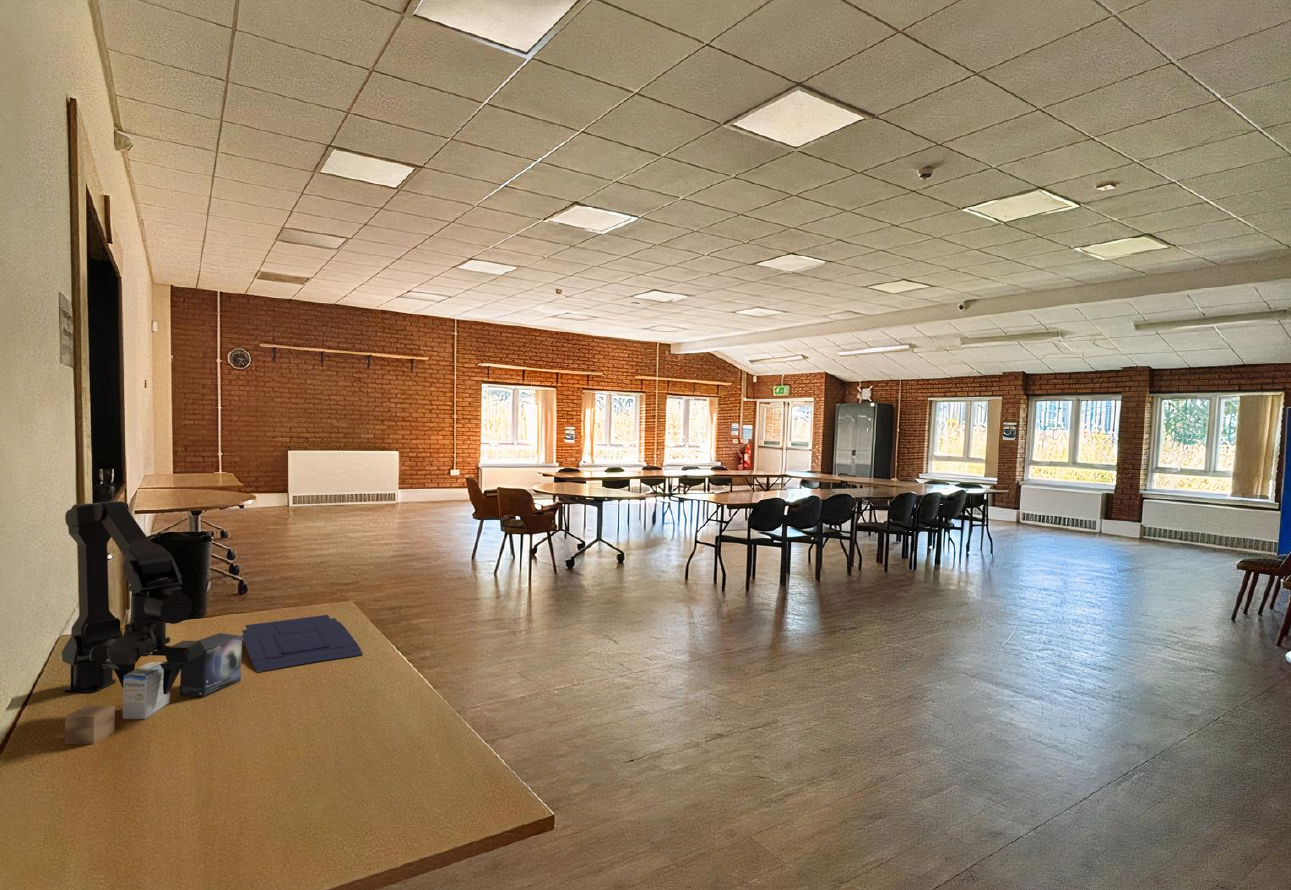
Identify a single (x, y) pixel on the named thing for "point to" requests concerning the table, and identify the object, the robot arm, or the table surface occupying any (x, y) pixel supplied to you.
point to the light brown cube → (89, 724)
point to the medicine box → (144, 691)
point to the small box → (213, 666)
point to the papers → (297, 642)
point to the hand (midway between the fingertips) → (147, 693)
